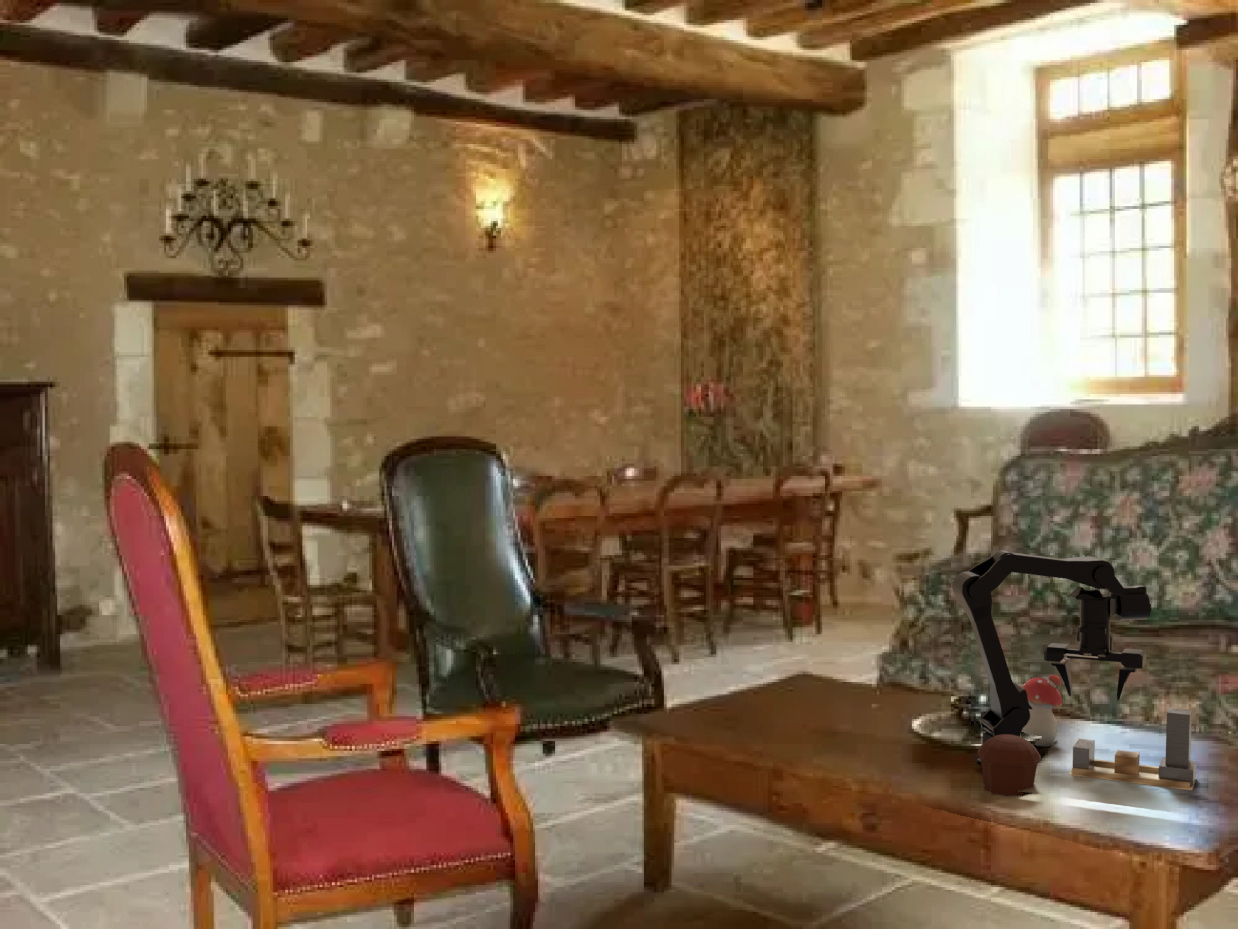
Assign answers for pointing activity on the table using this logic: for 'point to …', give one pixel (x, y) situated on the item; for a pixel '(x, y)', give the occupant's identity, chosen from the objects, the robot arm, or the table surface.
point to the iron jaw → (1084, 754)
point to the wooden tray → (1145, 776)
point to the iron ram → (1178, 748)
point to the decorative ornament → (1043, 708)
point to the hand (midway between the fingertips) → (1094, 698)
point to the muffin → (1008, 764)
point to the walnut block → (1127, 762)
